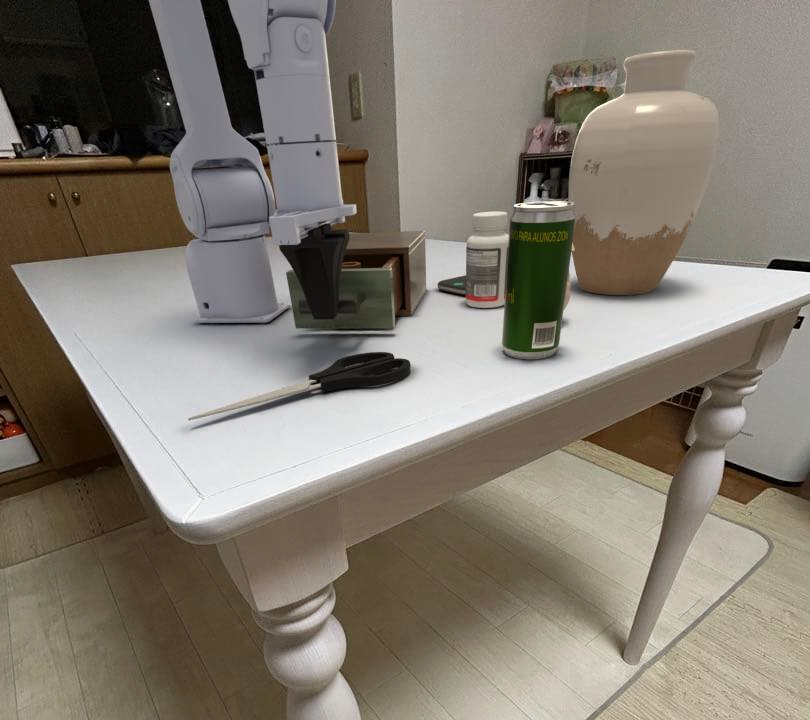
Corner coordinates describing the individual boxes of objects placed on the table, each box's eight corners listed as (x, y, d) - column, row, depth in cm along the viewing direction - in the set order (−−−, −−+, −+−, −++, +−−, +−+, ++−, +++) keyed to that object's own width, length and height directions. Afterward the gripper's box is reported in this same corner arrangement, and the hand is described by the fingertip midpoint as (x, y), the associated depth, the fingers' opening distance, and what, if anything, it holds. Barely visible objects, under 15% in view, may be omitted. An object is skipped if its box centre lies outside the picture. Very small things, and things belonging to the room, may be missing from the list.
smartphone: (432, 282, 72) (507, 265, 79) (432, 288, 73) (507, 272, 80) (469, 289, 67) (546, 271, 74) (469, 297, 68) (545, 278, 75)
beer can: (569, 353, 49) (592, 203, 41) (523, 364, 47) (537, 209, 40) (534, 339, 52) (549, 199, 45) (490, 349, 51) (498, 205, 43)
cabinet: (411, 316, 62) (408, 246, 58) (314, 316, 64) (304, 249, 60) (426, 290, 73) (425, 230, 68) (342, 292, 75) (335, 233, 70)
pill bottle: (485, 296, 68) (489, 210, 62) (516, 302, 65) (523, 211, 59) (456, 304, 66) (457, 214, 60) (487, 311, 62) (491, 216, 56)
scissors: (207, 441, 37) (422, 372, 46) (204, 430, 36) (422, 363, 46) (177, 414, 41) (379, 356, 50) (174, 403, 41) (378, 347, 50)
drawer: (384, 341, 52) (380, 279, 48) (280, 341, 54) (268, 281, 50) (411, 300, 65) (409, 249, 61) (327, 301, 67) (320, 252, 63)
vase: (690, 279, 70) (751, 51, 56) (668, 306, 60) (736, 35, 46) (576, 272, 77) (605, 68, 63) (538, 295, 67) (563, 58, 53)
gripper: (321, 140, 36) (345, 340, 44) (368, 140, 47) (380, 299, 55) (228, 146, 37) (268, 339, 45) (296, 145, 48) (318, 300, 57)
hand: (325, 317), depth 50 cm, fingers closed
